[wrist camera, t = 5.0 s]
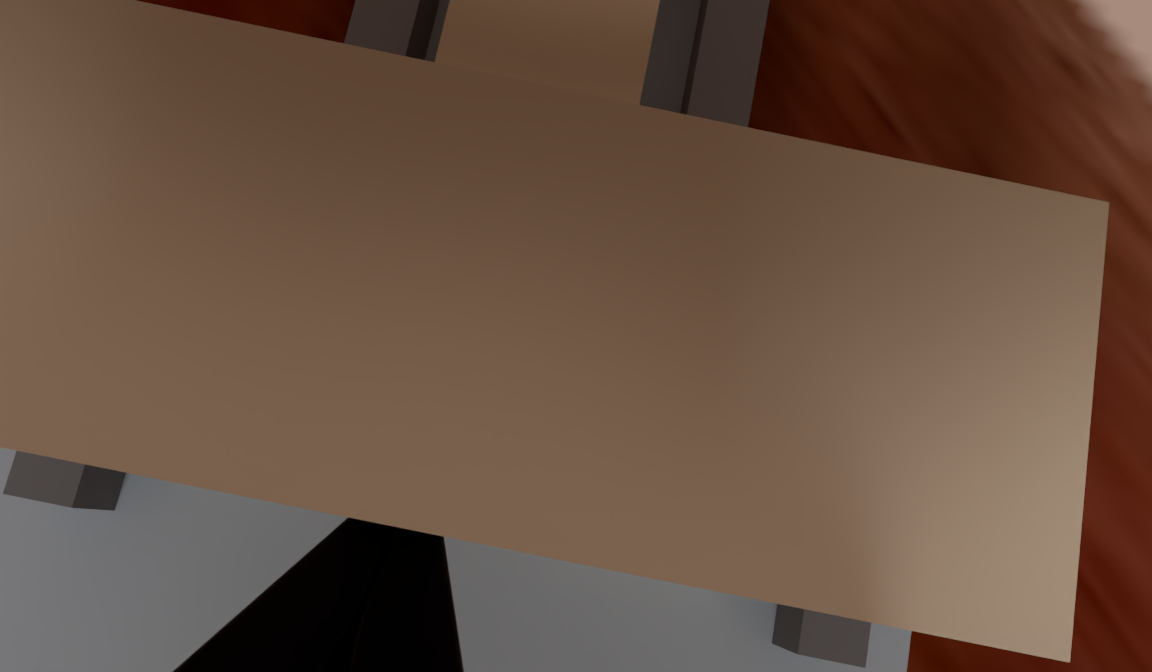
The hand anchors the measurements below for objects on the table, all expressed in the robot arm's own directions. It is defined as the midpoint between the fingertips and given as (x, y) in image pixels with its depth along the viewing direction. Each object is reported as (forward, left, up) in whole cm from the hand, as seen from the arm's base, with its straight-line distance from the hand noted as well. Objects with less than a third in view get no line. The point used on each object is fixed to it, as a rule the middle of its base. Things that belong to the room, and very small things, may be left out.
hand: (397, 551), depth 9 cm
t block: (+1, +5, -7) cm, 8 cm away
